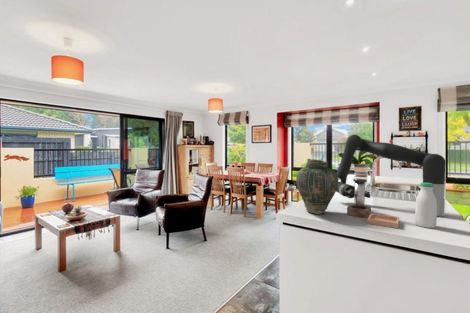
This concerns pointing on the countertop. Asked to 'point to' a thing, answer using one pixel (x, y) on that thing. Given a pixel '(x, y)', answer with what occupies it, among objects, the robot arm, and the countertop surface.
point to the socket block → (359, 211)
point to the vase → (316, 185)
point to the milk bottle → (426, 207)
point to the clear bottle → (359, 193)
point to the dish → (383, 220)
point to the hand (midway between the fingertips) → (361, 195)
